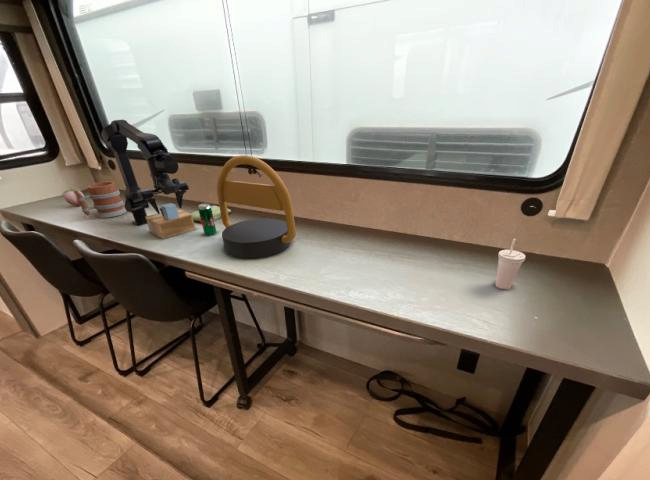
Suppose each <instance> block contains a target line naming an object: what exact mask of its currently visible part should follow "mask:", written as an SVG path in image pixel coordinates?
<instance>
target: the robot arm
mask: <svg viewBox="0 0 650 480" xmlns="http://www.w3.org/2000/svg"><path fill="white" fill-rule="evenodd" d="M100 135H101V138H102V140H103V141H104V143H105V145H106V147H107V148H108V149H109V150H110V151H112V153H113V155H114V157H115V158H114V159H115V160H116V163H117V166H118V169H119V172H120V175H121V177H122V180H123V183H124V186H125V191H124V194H123V195H124V199H125V202H124V205H123V206H124V207H125V209H126V211H127V212H128V213H131V214H132V217H133V221H132V223H133V224H134V225H136V226H140V225H144V224H148V223H147V220H146V218H145V217H146V216H148V215H147V211H146V209H148V208H150V206H149V204H150V205H151V206H152V208H153V209H154V211H155V212H156V214H160V213H161V212H160V208H159V207H158V204H157V202H156V198H155V197H154V195H159V194H164V195H166V196H167V195H171V194H174V196H175V199H176V202H177V205H178V207H179V208H178V209H180V210H182V205H183V198H184V195H185V193H187V191H189V190H190V187H189V184H188V182H186V181H182V180H180V179H179V178H178V177H175V178H172V179H171V178H170V175H175V174H176V173H177V172H178V170H179V163H178V162H177V160H176V159H175V158H174V157H172V156H171V153H170V152H169V151H168V148H167V147H166V146H165V145H164V143H163V142H162V139H160V137H159V136H158V135H156V134H154V133H150V132H149V133H148V132H144V131H141V130H140V129H138V128H136V127H135V126H134V125H132V124H130V123H129V122H128V121H127V119H126V120H125V119H123V118H122V119H113V120H112V121H111V122H110V123H109V124H108V125H106V126H105V127H104V128H103V129H102V131H101V133H100ZM128 139H129V140H130V141H131V142H133V143H134V144H136V146H137V149H138V150H139V151H140V152H142V154H144V155H143V159H144V160H146V163H147V166H148V169H149V173H150V178H151V179H152V182H153V188H152V189H150V188H147V187H146V188H142V187H140V186H139V184H138V181H137V178H136V176H135V173H134V169H133V167H132V165H131V161H130V158H129V155H128V152H127V149H128V146H129V142H128ZM169 174H170V175H169Z"/></svg>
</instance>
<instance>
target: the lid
mask: <svg viewBox="0 0 650 480" xmlns="http://www.w3.org/2000/svg"><path fill="white" fill-rule="evenodd" d="M176 208H177V207H176ZM177 211H178V215H179V217H178V218H174V219H171V220H168V219H166V218H165V217H164V214H163V210H162V207H159V213H160V214H158V213H154V214H150V215H147V216H146V217H145V218H146V219H147V220H149V221H151V222H153V223H155V224H156V225H158V226H159V225H162V224H166V223H169V222H173V221H177V220H180V219H184V218H187V217H191V216H192V215H191V214H190V213H189V212H187V211H184V210H183V209H180V208H177Z"/></svg>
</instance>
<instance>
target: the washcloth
mask: <svg viewBox="0 0 650 480" xmlns="http://www.w3.org/2000/svg"><path fill="white" fill-rule="evenodd" d="M210 206H211V209H212V214H213V218H214V221H215V220H218V219H221V212H220V207H219V205H218V206H217V205H210ZM227 211H228V214H230V213H231V212H232V210H231V209H229V208H227ZM189 214H191V215H192V217H193V221H194V222H200V223H201V219H200V215H199V211H198V210H196V211H193V212H191V213H189Z"/></svg>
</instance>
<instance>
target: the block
mask: <svg viewBox="0 0 650 480" xmlns="http://www.w3.org/2000/svg"><path fill="white" fill-rule="evenodd" d="M160 208H162V210H163V214H164V217H165V218H166V219H168V220H171V219H174V218H178V217H179V215H178V211H177V205H176V204H175V203H173V202H170V203H166V204H161V205H160Z"/></svg>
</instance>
